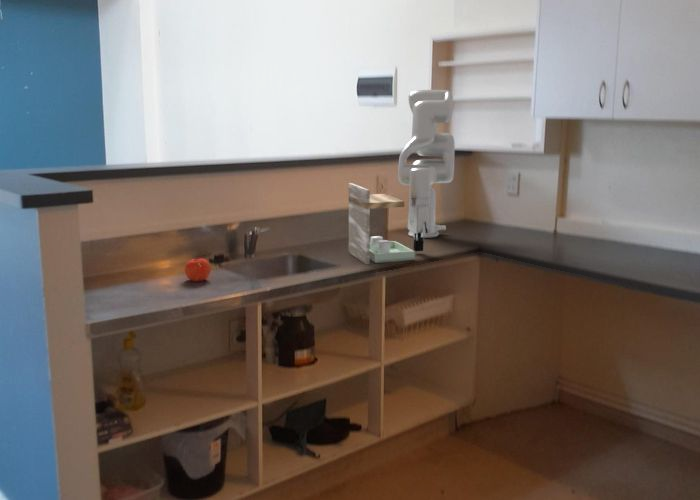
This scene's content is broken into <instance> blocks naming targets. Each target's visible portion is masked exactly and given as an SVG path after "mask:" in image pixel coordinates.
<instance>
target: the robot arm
mask: <svg viewBox="0 0 700 500" xmlns="http://www.w3.org/2000/svg"><path fill="white" fill-rule="evenodd" d="M408 105H409V107H410V110H411V113H412V129H411V130H412V131H411V139H410V140H409V142H407V144H406V145H404V147H403V148H402V150H401V152H400V154H399V158H398V167H397V168H398V169H397V171H398V172H397V179H398V182H399V183H400V184H401V185H403V186H409V188H408V191H409V192H408V193H409V194H408V195H409V196H408V201H409V202H408V206H409V208H408V215H407V229H408V230H409V231H408V236H410V237H413V251H415V252H423V251H424V240H425V239H426V238H427V239H428V238H436V237H439V235H440V234H439V231H446V230H447V227H446V225H440V224H436V212H437V211H436V208H437V207H436V206H437V205H436V204H437V203H436V202H437V201H436V200H437V194H436V193H437V192H436V191H435V189H434V188H433V187H432V185H434V184H449V183H452V181H453V180H454V176H455V148H456V147H455V146H456V145H455V139H454V136H453V134H451V133H448V132H437V123H438V124H440V123H441V124H443V123H446V124H447V123H449V122H450V121H451V118H452V115H453V105H454V97H453V93H452V91H450V90H447V89H418V90H417V89H416V90H412V91H410V93H409V94H408ZM414 152H415V153H416V154H417V155H418V156H420V157H421V156H422V157H442V158H443V159H424V158H423V159H417V160H415V161H414V162H413V163H412V164H407V160H408V158H409V156H411V155H412V154H413V153H414Z"/></svg>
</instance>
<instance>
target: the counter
mask: <svg viewBox="0 0 700 500" xmlns="http://www.w3.org/2000/svg"><path fill="white" fill-rule="evenodd" d="M370 191H371V190H370V189H368V188H365V187H363V186H360V185H358V184H355V183H352V182H348V253H349V254H350V255H351V256H353V257H355V258H356V259H358V260H359V261H361V262H362V263H363V264H365V265H370V260H369V243H371V236H370V229H371V228H370V226H371V225H370V222H371V221H370V219H371V217H370V216H371V215H370V214H371V213H370V210H371V209H373V210H374V209H390V208H393V209H394V208H405V200H403V199H402V200H401V199H399V198H397V197H394V196H392V195H389V194H387V193H373V194H371V193H370Z"/></svg>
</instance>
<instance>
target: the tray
mask: <svg viewBox="0 0 700 500" xmlns="http://www.w3.org/2000/svg"><path fill="white" fill-rule="evenodd" d="M389 241H390V253H375V252H373V251H371V242H369V261H371V262H373V263H374V264H381V263H382V264H383V263H392V262H393V263H394V262H406V261H407V262H408V261H415V259H416V258H415V255H416V254H415V252H416V251H414V249H411V248H409V247H407V246H405V245H403V244H402V243H400V242H398V241H396V240H389Z"/></svg>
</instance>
